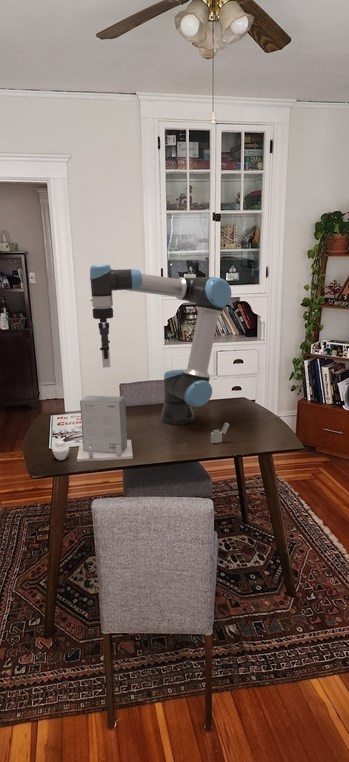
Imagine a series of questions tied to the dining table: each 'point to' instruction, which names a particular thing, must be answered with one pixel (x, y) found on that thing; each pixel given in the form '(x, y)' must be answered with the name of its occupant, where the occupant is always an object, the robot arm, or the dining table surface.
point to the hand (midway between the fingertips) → (106, 363)
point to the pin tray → (104, 453)
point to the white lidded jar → (60, 450)
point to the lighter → (218, 434)
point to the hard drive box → (103, 423)
